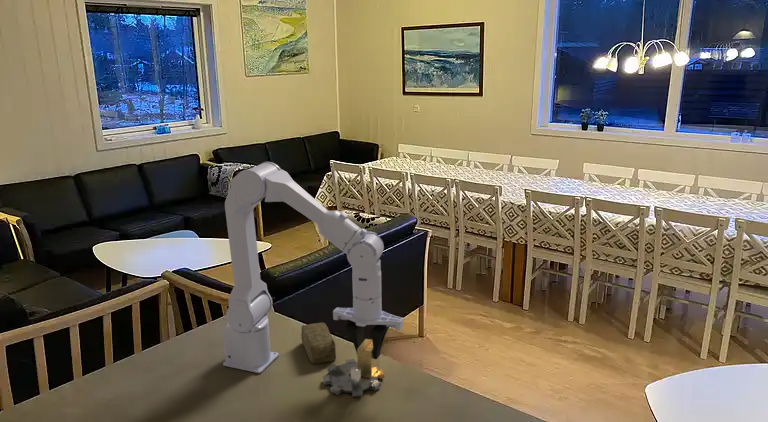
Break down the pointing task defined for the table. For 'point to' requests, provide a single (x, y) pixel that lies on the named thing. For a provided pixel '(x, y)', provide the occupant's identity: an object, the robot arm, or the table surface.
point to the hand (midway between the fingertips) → (368, 355)
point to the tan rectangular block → (367, 359)
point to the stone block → (318, 343)
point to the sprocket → (351, 379)
